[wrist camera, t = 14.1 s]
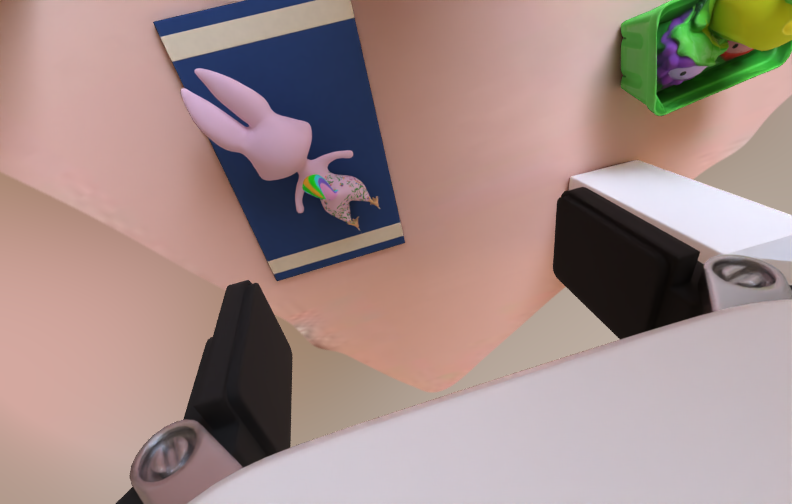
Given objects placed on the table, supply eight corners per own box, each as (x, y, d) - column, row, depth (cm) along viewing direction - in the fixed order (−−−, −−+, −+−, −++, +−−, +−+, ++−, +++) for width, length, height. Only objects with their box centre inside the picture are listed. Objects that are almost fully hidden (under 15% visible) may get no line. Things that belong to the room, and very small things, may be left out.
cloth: (154, 22, 22) (152, 22, 22) (344, -22, 23) (345, -23, 23) (277, 279, 33) (276, 281, 33) (404, 241, 34) (405, 243, 34)
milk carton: (562, 239, 38) (751, 384, 22) (568, 175, 35) (801, 294, 19) (623, 223, 39) (848, 351, 23) (636, 158, 35) (914, 258, 19)
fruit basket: (606, 110, 32) (735, 140, 23) (604, -7, 27) (767, -32, 18) (724, 59, 32) (902, 68, 23) (743, -66, 28) (978, -122, 18)
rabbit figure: (384, 175, 31) (220, 32, 22) (409, 209, 27) (216, 47, 18) (336, 226, 33) (162, 112, 24) (353, 266, 28) (146, 145, 19)
